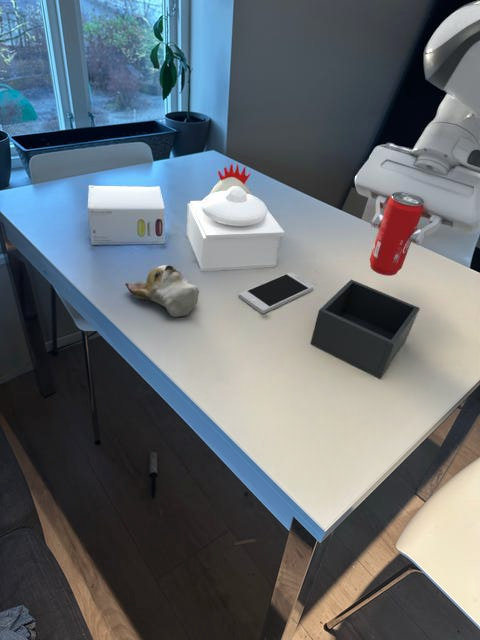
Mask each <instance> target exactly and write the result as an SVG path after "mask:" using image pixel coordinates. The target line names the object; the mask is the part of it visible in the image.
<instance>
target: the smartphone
mask: <svg viewBox="0 0 480 640" xmlns="http://www.w3.org/2000/svg"><path fill="white" fill-rule="evenodd" d="M314 287H315V286H314V285H313V284H311V283H309V282H308V281H306V280H305V279H303V278H301V277H300V276H298V275H296V274H295V273H293V272H291V271H289V272H287V273H284V274H282V275H279V276H277V277H275V278H272V279H270V280H268V281H265V282H262V283H260V284H258V285H256V286H253V287H251V288H248V289H247V290H244V291H242V292H240V293H239V298H240V299H241V300H242V301H244V302H245V303H247V304H248V305H250V307H252V308H254V309H255V310H256V311H258V312H259V313H261V314H266V313H268V312H270V311H272V310H274V309H277V308H278V307H280V306H283V305H285V304H287V303H289V302H291V301H293V300H295V299H297V298H300V297H302V296H304V295H306V294H308V293H310V292H312V291H313V290H314Z"/></svg>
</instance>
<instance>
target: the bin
mask: <svg viewBox="0 0 480 640" xmlns="http://www.w3.org/2000/svg"><path fill="white" fill-rule="evenodd" d="M420 309H421V307H419V306H416V305H414V304H411V303H409V302H407V301H405V300H402V299H400V298H397V297H395V296H392V295H390V294H388V293H385V292H382V291H380V290H378V289H375V288H373V287H371V286H368V285H366V284H363V283H362V282H359V281H356V280H354V279H350V280H349V281H347V283H345V284H344V285H343V287H342V288H340V289H339V290H338V291H337V292H336V293H335V294H334V295H333V296H332V297H330V299H329V300H328V301H327V302H326V303H325V304H323V305H322V306H321V307H320V309H318V313H317V316H316V321H315V324H314V328H313V330H312V331H313V332H312V335H311V339H310V345H311V346H313V347H315V348H317V349H319V350H321V351H323V352H325V353H327V354H329V355H330V356H333V357H335V358H337V359H339V360H340V361H343V362H345V363H347V364H348V365H350V366H353V367H355V368H357V369H359V370H361V371H363V372H364V373H367V374H369V375H371V376H373V377H375V378H377V379H378V380H381V378H382V377H383V375H384V374H385V373H386V371H387V370H388V369H389V367H390V365H391V364H392V362H393V361H394V359H395V358H396V357H397V355H398V353H399V352H400V350H401V349H402V347H403V346H404V344H405V343H406V342H407V339H408V337H409V335H410V332H411V330H412V328H413V326H414V323H415V320H416V318H417V316H418V313H419V311H420Z"/></svg>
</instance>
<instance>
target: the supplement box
mask: <svg viewBox="0 0 480 640" xmlns="http://www.w3.org/2000/svg"><path fill="white" fill-rule="evenodd" d="M87 200H88V201H87V215H88V216H87V217H88V226H89V236H90V245H91V246H104V245H105V246H110V245H111V246H112V245H113V246H115V245H117V246H118V245H119V246H120V245H121V246H122V245H165V244H166V207H165V202H164V199H163V196H162V189H161V187H160V186H159V185H158V186H143V185H142V186H141V185H139V186H137V185H135V186H134V185H133V186H132V185H90V184H89V185H88V197H87Z"/></svg>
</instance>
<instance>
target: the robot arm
mask: <svg viewBox="0 0 480 640" xmlns="http://www.w3.org/2000/svg"><path fill="white" fill-rule="evenodd" d="M423 71H424V77H425V80H426V81H428V82H429V83H430V84H432V85H433V86H435V87H437V88H438V89H440V90H441V91H444V92H445V93H446V94H445V95H444V97H443V99H442V101H441V102H440V104H439V106H438V108H437V110H436V114H435V117H434V118H433V120H431V121H430V122H429V123H428V124H427V125H426V127H425V128H424V130H423V132H422V134H421V135H420V137H419V138H418V140H417V141H416V143H415V145H414V146H413V148H410V147H406V146H400V145H398V144H397V145H396V144H395V143H392V142H386V143H385V144H384V143H383V144H379V145H376V146H375V147H374V148H373V150H372V152H371V154H369V157H368V158H367V160H366V161H365V162H364V164H363V165H362V166H361V168H360V169H359V170H358V172H357V173H356V175H355V177H354V186H355V189H356V192H357V194H358V195H360V196H362V197H365V198H368V199H371V200H373V201H375V214H374V216H373V218H371V221H370V226H371V227H372V228H375V229H377V230H379V228H380V224H381V221H382V218H383V215H384V214H382V210H384V211H385V208H386V205H387V202H388V199H389V198H390V197H391V195H392V194H393V193H395V192H406V193H411V194H414V195H416V196H419V197H420V198H422V199H423V200H424V204H423V206H424V209H423V212H422V214H421V217H420V218H423V219H425V220H428V221H429V222H428V224H427V225H425V226H424V227H423V228H421V229H420V228H418V227H417V228H416V229H415V230H414V231H413V234H411V236H410V242H411V244H412V243H413V244H415V245H417V246H420V245H421V243H422V242H423V241H424V239H425V237H427V236H430V235H432V234H433V233H435V232H437V231H438V230H439V229H440V227H441V226H444V227H445V226H446V227H448V228H450V229H453V230H456V231H458V232H461V233H463V234H467V235H472V234H475V233H477V232H479V231H480V0H475V1H472V2H468V3H465V4H464V5H462V6H460V7H459V8H457V9H456V10H455V11H454V12H452V13H451V14H449V16H448V17H446V18H445V19H444V20H443V21H442V22H441V23H440V25H439V26H438V27H437V28H436V30H435V31H434V32H433V34H432V35H431V37H430V38H429V40H428V42H427V44H426V45H425V47H424V51H423Z"/></svg>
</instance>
